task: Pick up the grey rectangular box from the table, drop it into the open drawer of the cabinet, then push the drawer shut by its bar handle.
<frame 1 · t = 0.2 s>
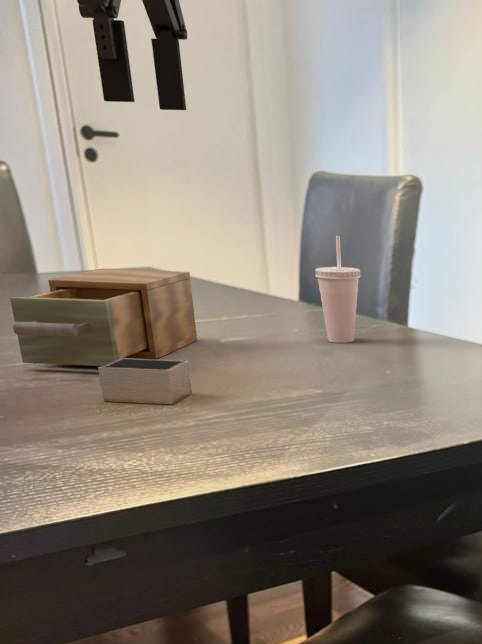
hand: (148, 106, 94), 28 cm above the table, tool pointing down, fingers open, 13 cm apart
drawer: (81, 326, 110), point 5 cm above the table, slide at 9.0 cm
grey rectangular box: (148, 397, 98), on the table
cabinet: (132, 347, 123), on the table
smoothie: (341, 341, 133), on the table
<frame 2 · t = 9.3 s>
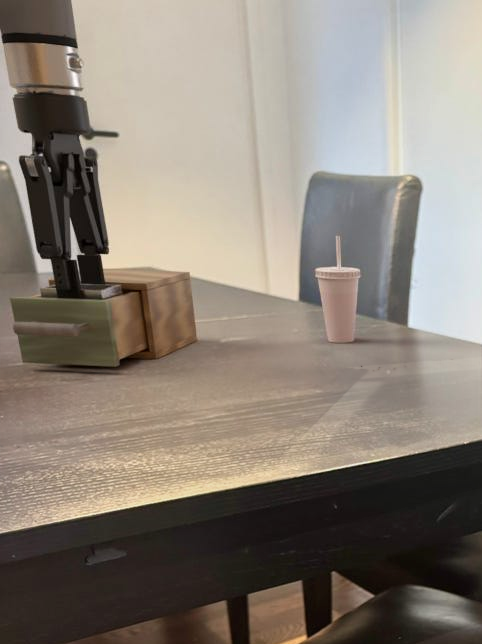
hand: (86, 314, 111), 6 cm above the table, tool pointing down, fingers closed on grey rectangular box, 5 cm apart
grey rectangular box: (86, 317, 111), point 5 cm above the table, touching gripper
everything else where it was.
when the fingers open (9 cm above the table, at t = 21.1 s): grey rectangular box drops 7 cm, resting on drawer.
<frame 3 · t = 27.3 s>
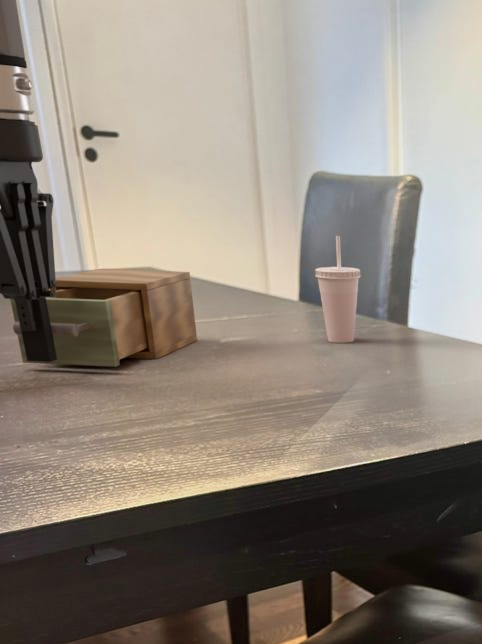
hand: (42, 359, 102), 3 cm above the table, tool pointing down, fingers closed
drawer: (82, 326, 110), point 5 cm above the table, slide at 9.0 cm, touching gripper, grey rectangular box
grey rectangular box: (91, 346, 112), point 2 cm above the table, touching drawer
everything else where it was.
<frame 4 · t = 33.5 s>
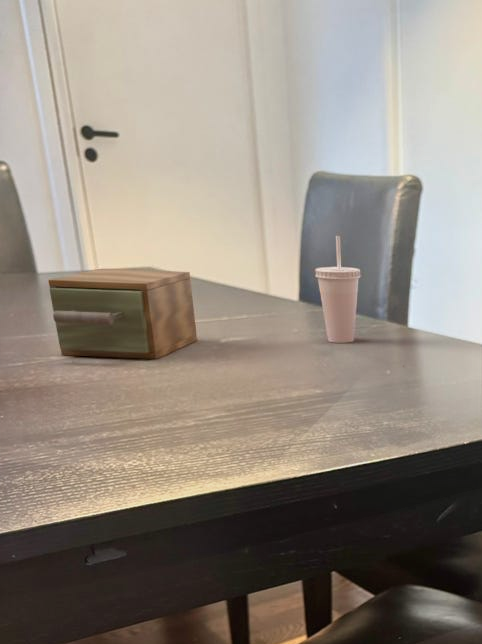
drawer: (114, 316, 118), point 5 cm above the table, slide at 0.0 cm, touching grey rectangular box
grey rectangular box: (122, 334, 120), point 2 cm above the table, touching drawer
everything else where it was.
at the end: grey rectangular box inside the target area in the cabinet (2.4 cm from its centre), point 2.0 cm above the cabinet's base; drawer slide at 0.0 cm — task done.
